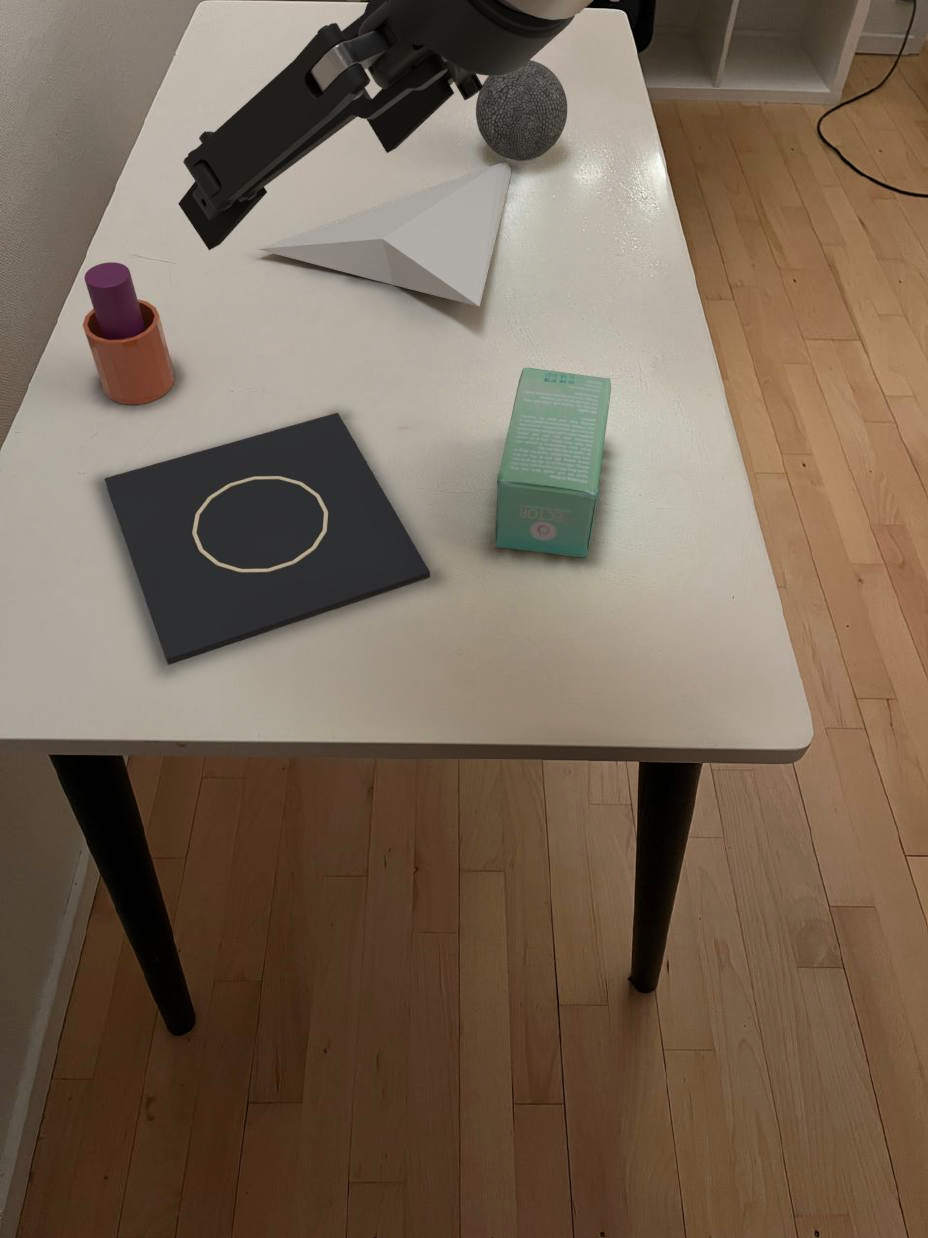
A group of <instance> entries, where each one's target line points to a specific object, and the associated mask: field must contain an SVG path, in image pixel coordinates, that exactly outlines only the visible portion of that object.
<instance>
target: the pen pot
mask: <svg viewBox="0 0 928 1238" xmlns="http://www.w3.org/2000/svg"><path fill="white" fill-rule="evenodd" d="M137 299H138V303H139V307H140V311H141V314H142V318H143V322H144V325H145V329H146V331H144V332H142V333H140V334H139V335H137V336H135V337H131V338H127V339H122V340H108V339H104V338H103V337H102V334H101V331H100V328H99V324H98V321H97V318H96V315H95V311H94V308H93V307H92V309H91V310H90V311H89V312H88V313H87V314H86V315H85V316H84V319H83V323H82V328H83V331H84V334H85V338H86V341H87V343H88V346H89V350H90V353H91V357H92V359H93V362H94V366H95V368H96V371H97V374H98V377H99V380H100V384H101V387H102V389H103V392H104V394H105V395H106V396H107V397H108V398H109V399H110V400H112V401H114V402H116V403H119V404H123V405H134V406H135V405H143V404H147V403H150V402H154V401H156V400H158V399H160V398H162V397H163V396H165V395H166V394H167V393H168V392H169V391H170V390H171V389H172V388H173V385H174V383H175V371H174V367H173V363H172V359H171V355H170V352H169V348H168V344H167V340H166V336H165V333H164V328H163V324H162V321H161V316H160V314H159V311H158V309H157V308H156V306H154V305H153V304H151V303H150V302H148V301H146V300H142V299H139V298H137Z"/></svg>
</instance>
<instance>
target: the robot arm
mask: <svg viewBox="0 0 928 1238" xmlns="http://www.w3.org/2000/svg"><path fill="white" fill-rule="evenodd" d="M609 1H610V2H619V1H620V0H609ZM593 2H594V0H369V1H368V2H367V3H366V6H365V8H364V9H365V10H364V12H363V13H362V14H361V15H360V16H359V17H358V18H356V19H355V20H354V21H353V22H351V23H350V24H349V25H347V26H346V27H345V28H344V29H341V28H340V26H339V24H338V23H336V22H332V23H330V24H325V25H323V26H321V28H319V29H318V31H317V33H316V34H315V35H314V36H313V37H312V39H310V40H309V42H308V43H307V44H306V45H305V46H304V48H303V49H302V50H301V51H300V52H299V54H298V55H296V57H295V58H294V59H293V60H292V61H291V62H290V63H289V64H288V65H287V66H286V67H284V68H283V69H282V70H281V71H280V72H279V73H278V74H277V75H276V76H275V77H274V78H273V79H271V80H270V81H269V82H268V83H267V84H266V85H265V86H263V88H261V89H260V90H259V91H258V92H257V93H256V94H255V95H254V96H253V97H251V98H250V99H249V100H248V101H247V102H246V103H244V105H242V107H241V108H239V109H238V110H237V111H236V112H234V114H232V115H231V116H230V117H229V118H228V119H227V120H226V121H225V122H224V123H222V124H221V125H220V126H219V127H218V128H217V129H216V130H215V131H209V130H208V131H207V130H205V131H203V132H202V133H201V134H200V135H199V138H198V140H199V141H200V142H201V144H200V145H199V146H197V147H196V148H194V149H192V150H191V151H189V153H187V156H186V157H185V158H184V159H183V161H182V162H183V165H184V166H185V167H186V169H187V170H188V172H189V174H190V175H191V177H192V178H193V180H194V182H193V183H192V185H191V186H190V187H189V189H188V190H187V191H186V192H185V194H184V195H183V196H182V198H181V199H180V200H179V202H177V203H178V206H179V207H180V209H181V211H182V212H183V214H184V215H185V217H186V218H187V220H188V221H189V222H190V224H191V225H192V227H193V229H194V230H195V231H196V233H197V235H198V236H199V238H200V239H201V241H202V242H203V244H204V245H205V247H206V248H207V250H208V251H211V250H213V249H215V248H217V247H218V246H220V245H221V244H222V243H223V242H224V241H225V240H226V238H228V237H229V235H230V234H231V233H232V232H233V231H234V230H235V228H237V226H238V225H239V224H240V223H241V222H242V221H243V220H244V219H245V218H246V216H248V215H249V214H250V213H251V211H252V210H253V209H254V208H255V207H256V206H257V204H258V203H259V202H261V200H262V199H263V198H264V197H265V196H266V194H267V193H268V190H267V189H266V188H265V187H266V186H268V185H269V184H270V183H271V182H273V181H274V180H275V179H277V178H278V177H280V175H282V174H283V173H284V172H286V171H287V170H288V169H290V168H291V167H293V166H294V165H295V164H297V163H298V162H299V161H300V160H302V159H304V158H305V157H306V156H308V155H309V154H310V153H311V152H312V151H314V150H315V149H316V148H318V147H319V146H321V144H323V143H324V142H326V141H327V140H329V139H330V138H331V137H332V136H333V135H335V134H337V132H339V131H340V130H342V129H343V128H344V127H345V126H347V125H348V124H350V123H351V122H352V121H354V120H356V119H357V118H360V119H363V120H366V121H367V122H368V124H369V126H370V128H371V129H372V131H373V132H374V134H375V136H376V137H377V139H378V141H379V142H380V144H381V146H382V148H383V149H384V151H385V152H386V154H389V153H390V152H393V151H395V150H396V149H398V147H399V146H400V145H401V144H402V143H404V142H405V141H406V140H407V139H408V138H409V137H410V136H411V135H412V134H413V133H414V132H415V131H416V130H417V129H418V128H419V127H421V126H422V125H423V123H425V122H426V121H427V120H428V119H429V118H430V117H431V116H432V115H433V114H434V113H435V112H436V111H438V109H440V108H441V107H442V106H443V105H444V104H445V103H446V102H447V101H448V100H449V99H450V98H452V97H453V95H454V94H455V91H454V89H453V88H452V84H453V83H454V84H455V86H456V88H457V90H458V91H459V93H460V95H461V98H462V99H463V100H464V101H467V100H469V99H471V98H472V97H474V96H475V95H477V94H479V92H480V90H481V89H482V88H483V83H482V82H481V79H480V78H479V76H478V75H480V76H487V77H488V76H497V75H503V74H507V73H510V72H513V71H515V70H517V69H519V68H520V67H522V66H523V65H524V64H526V63H527V62H528V61H529V60H532V58H534V57H535V56H536V55H537V54H538V53H539V52H540V51H541V50H543V48H545V47H546V46H547V45H548V44H549V43H550V42H552V41H553V40H554V39H556V37H557V36H558V35H559V34H561V33H562V32H563V31H564V30H565V29H566V28H567V27H568V26H569V25H570V24H571V23H572V21H573V20H574V18H575V17H576V16H577V15H578V14H580V13H581V12H582V11H583V10H584V9H586V8H587V7H588V6H590V4H591V3H593ZM366 70H367V71H368V72H369V74H370V76H371V78H372V79H373V81H374V83H375V84H376V85H377V86H378V87H380V88H381V89H380V90H379V91H378V92H377V93H376V94H375V95H374V96H373V97H372V96H371V95H370V94H369V91H368V90H367V86H368V85H370V83H371V78H370V77H369V75H368V74H367V71H366Z"/></svg>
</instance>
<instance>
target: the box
mask: <svg viewBox="0 0 928 1238" xmlns="http://www.w3.org/2000/svg"><path fill="white" fill-rule="evenodd" d="M611 393H612V383H611V378H608V377H600V376H595V375H594V376H593V375H587V374H586V375H585V374H579V373H569V372H563V371H556V370H548V369H541V368H532V367H522V370H521V373H520V376H519V380H518V383H517V388H516V393H515V398H514V401H513V407H512V410H511V416H510V421H509V426H508V431H507V434H506V440H505V444H504V448H503V453H502V458H501V463H500V468H499V471H498V474H497V476H496V477H497V478H496V485H497V489H496V495H497V496H496V513H495V526H494V529H495V531H494V547H495V548H497V549H498V548H499V549H508V550H517V551H524V552H525V551H526V552H534V553H541V554H542V553H543V554H549V555H550V554H551V555H557V556H558V555H559V556H560V555H561V556H566V557H571V558H587V557H588V555H589V551H590V545H591V539H592V534H593V527H594V520H595V516H596V508H597V501H598V494H599V489H600V488H599V487H600V481H601V480H600V479H601V473H602V464H603V457H604V450H605V449H604V448H605V440H606V432H607V424H608V417H609V410H610V402H611Z"/></svg>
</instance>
